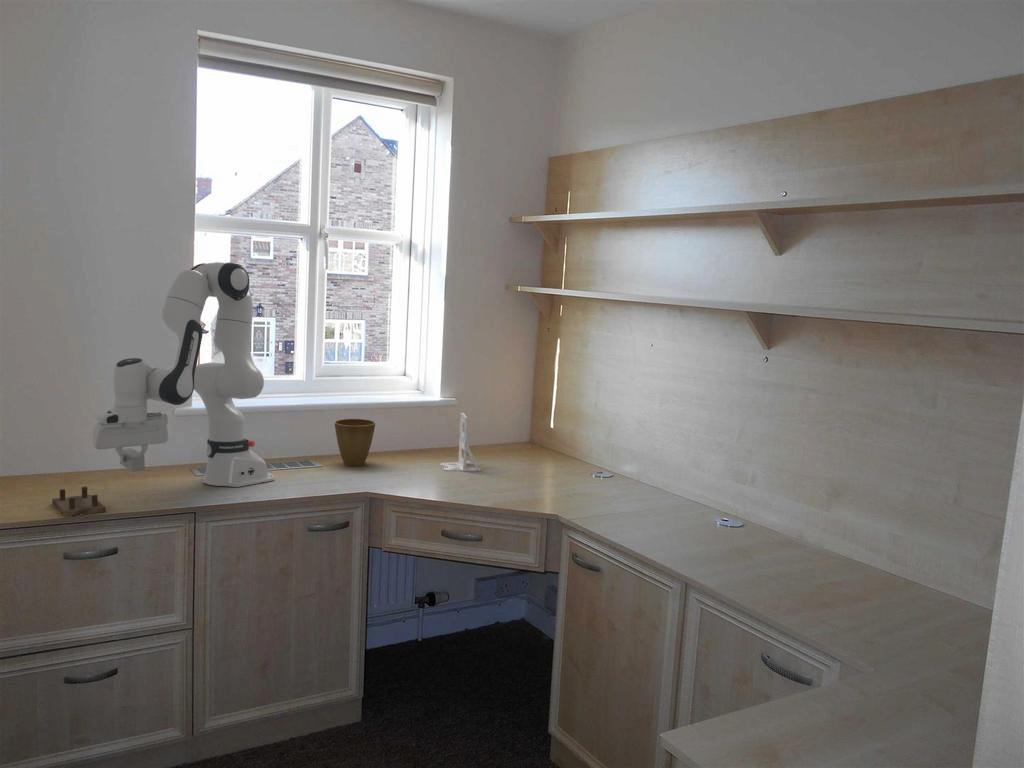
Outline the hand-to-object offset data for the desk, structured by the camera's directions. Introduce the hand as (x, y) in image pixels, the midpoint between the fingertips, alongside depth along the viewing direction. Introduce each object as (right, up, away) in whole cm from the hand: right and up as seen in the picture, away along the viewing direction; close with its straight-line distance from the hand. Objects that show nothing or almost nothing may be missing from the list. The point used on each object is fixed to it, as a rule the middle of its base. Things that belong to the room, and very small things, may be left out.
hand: (131, 460), depth 246 cm
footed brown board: (-12, -13, -8) cm, 19 cm away
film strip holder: (+92, -9, +69) cm, 115 cm away
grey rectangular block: (0, -2, 0) cm, 2 cm away
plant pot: (+53, -8, +66) cm, 85 cm away
